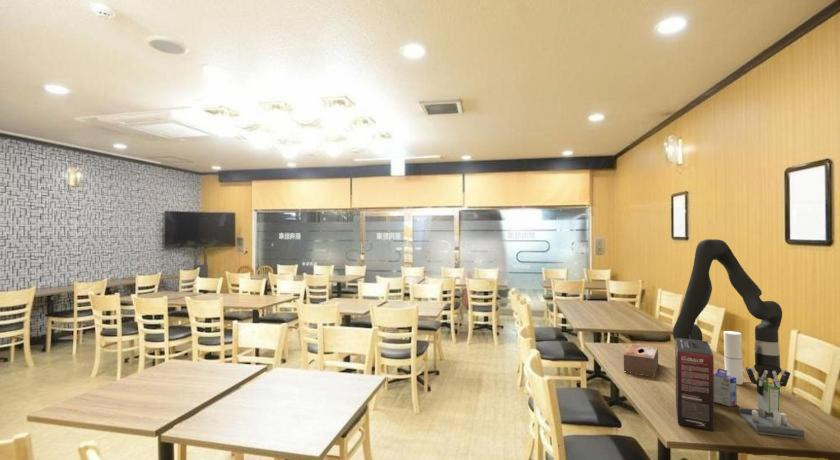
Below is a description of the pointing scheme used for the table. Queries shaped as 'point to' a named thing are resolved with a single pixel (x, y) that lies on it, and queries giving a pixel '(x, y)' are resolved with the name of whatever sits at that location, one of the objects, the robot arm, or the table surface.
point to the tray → (770, 423)
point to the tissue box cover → (641, 359)
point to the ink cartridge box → (725, 388)
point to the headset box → (694, 383)
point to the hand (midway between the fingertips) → (768, 395)
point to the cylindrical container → (733, 355)
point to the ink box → (769, 397)
